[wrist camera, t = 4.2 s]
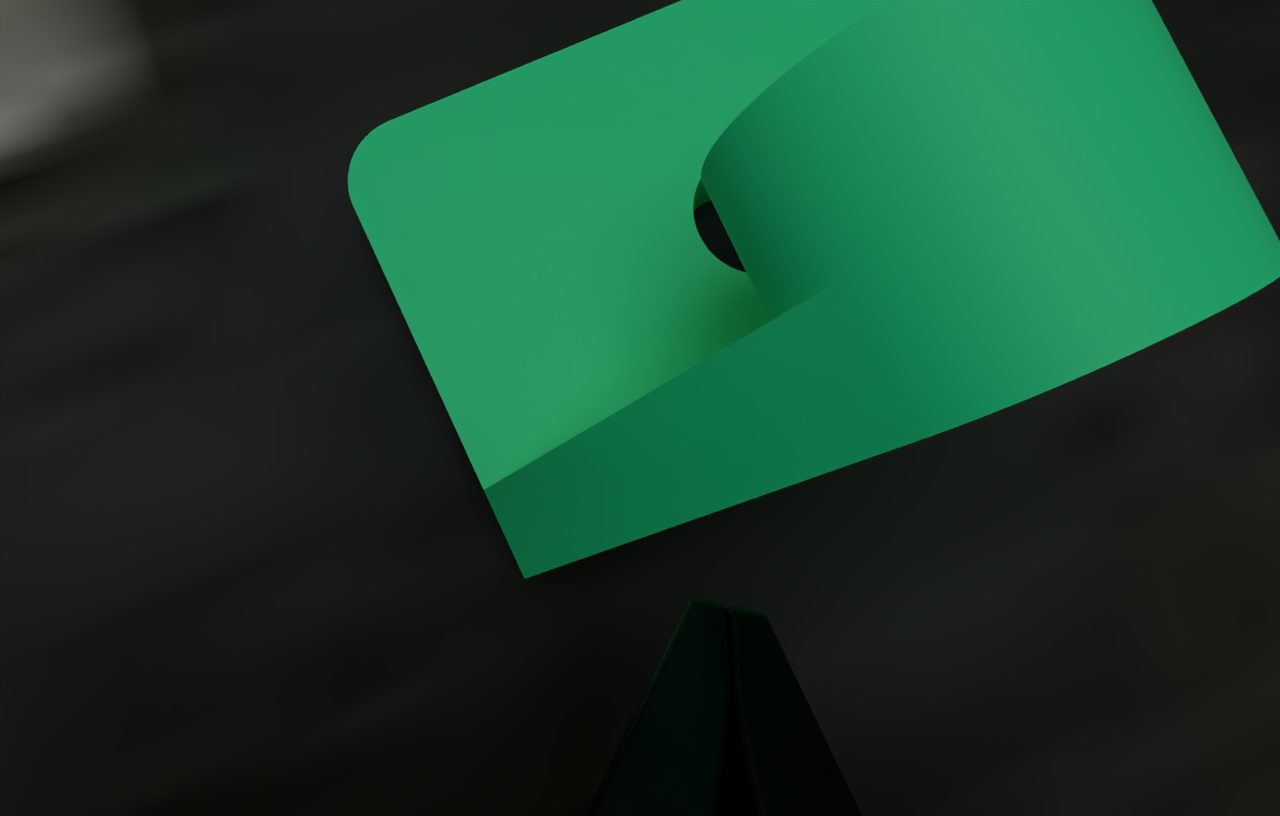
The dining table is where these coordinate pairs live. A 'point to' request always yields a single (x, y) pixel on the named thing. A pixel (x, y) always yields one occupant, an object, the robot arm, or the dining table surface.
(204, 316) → the dining table surface
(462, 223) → the camera mount
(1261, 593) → the dining table surface
